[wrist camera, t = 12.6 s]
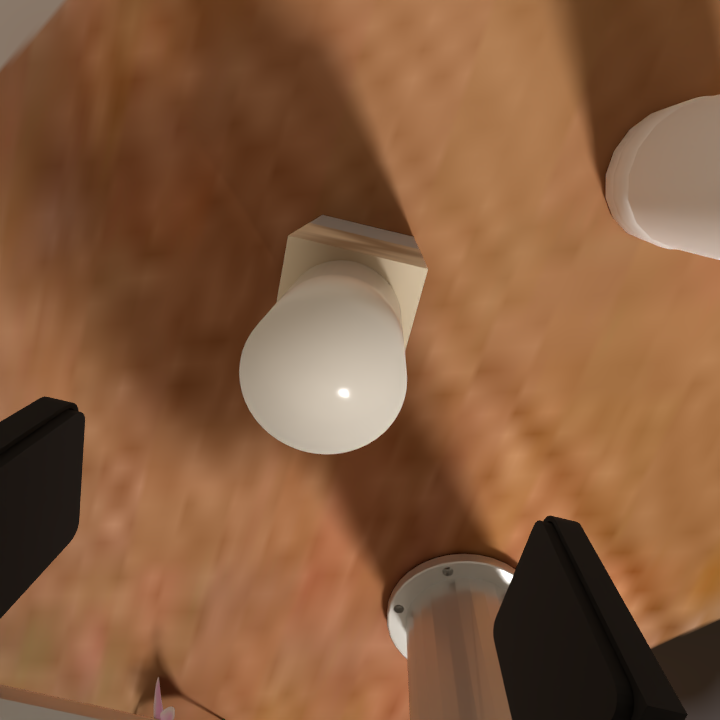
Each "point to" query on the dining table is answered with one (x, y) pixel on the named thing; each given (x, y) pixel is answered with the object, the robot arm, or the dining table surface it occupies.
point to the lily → (163, 715)
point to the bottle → (670, 178)
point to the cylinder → (328, 360)
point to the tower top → (384, 257)
